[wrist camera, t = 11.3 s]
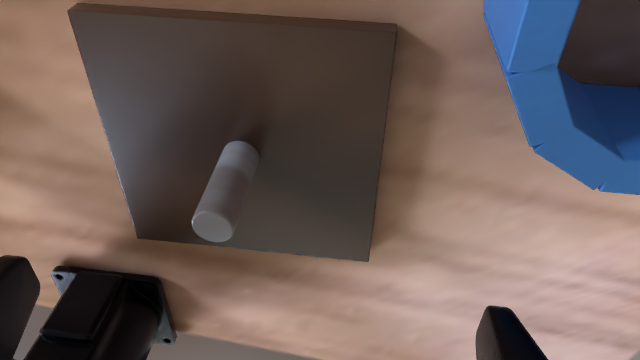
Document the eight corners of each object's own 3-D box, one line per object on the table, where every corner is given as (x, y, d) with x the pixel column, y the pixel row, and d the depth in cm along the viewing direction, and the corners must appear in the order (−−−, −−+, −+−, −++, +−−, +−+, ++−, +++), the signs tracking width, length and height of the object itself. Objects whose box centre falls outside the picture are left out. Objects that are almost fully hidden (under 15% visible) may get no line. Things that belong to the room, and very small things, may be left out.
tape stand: (369, 250, 25) (364, 339, 21) (143, 227, 26) (98, 309, 22) (396, 23, 18) (396, 96, 14) (77, 2, 19) (-9, 65, 15)
